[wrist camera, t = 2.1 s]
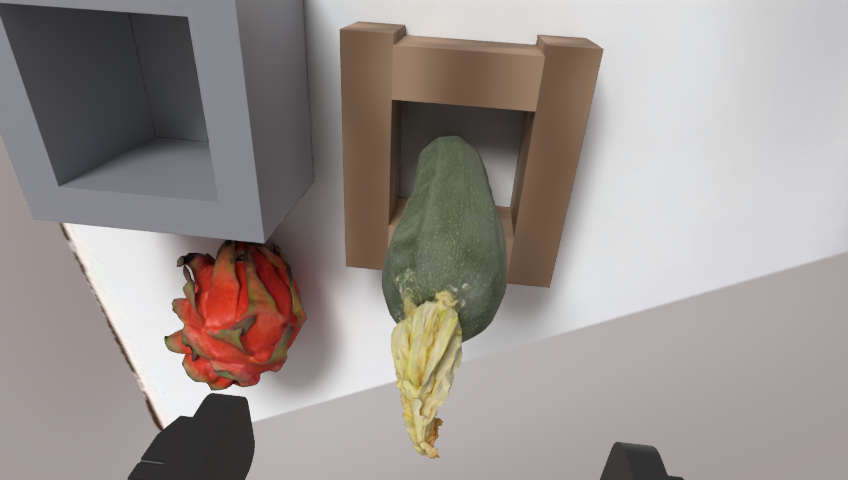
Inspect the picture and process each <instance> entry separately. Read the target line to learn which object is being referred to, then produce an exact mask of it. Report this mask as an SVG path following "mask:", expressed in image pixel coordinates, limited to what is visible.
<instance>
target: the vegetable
mask: <svg viewBox="0 0 848 480" xmlns="http://www.w3.org/2000/svg"><path fill="white" fill-rule="evenodd" d="M415 184H416V185H415V188H414V190H413V192H412V194H411V196H410V198H409V199H408V201H407V203H406V206H405V209H404V212H403V215H402V217H401V219H400V221H399V223H398V225H397V226H396V228H395V230H394V233H393V236H392V239H391V242H390V245H389V248H388V251H387V254H386V257H385V261H384V266H383V275H382V288H383V293H384V296H385V300H386V303H387V306H388V309H389V312H390V315H391V316H392V318H393V319H394V321H395V322H396V323H397V324H398V325H397V326H396V327H395V328H394V330H393V332H392V335H391V338H392V340H391V348H392V355H393V360H394V366H395V369H396V376H397V387H398V388H399V389H400V390H401V405H402V407H403V408H404V409H405V413H403V418H404V422H405V423H404V426H405V427H406V429H407V431H408V432H409V436H410V440H411V441H412V442H413V444H414V448H415V449H416V450H417V452H418V453H419V454H421V455H428V457H429V458H435V457H439V456H438V455H437V452H438V449H437V448H434V446H433V443H434V441H435V440H436V439H437V438H438V426H441V425H442V423H443V421H442V420H441V419H440V418H435V416H436V415H437V411H438V407H440V406H442V405H443V404H444V403H445V401H446V399H447V398H448V396H449V389H450V387H451V385H452V382H453V378H454V375H455V373H456V371H457V370H458V367H459V365H460V363H461V358H462V348H461V343H462V342H464V341H466V340H469V339H471V338H473V337H474V336H476V335H478V334H480V333H481V332H482V331H483V330H485V329H486V328H487V326H488V325H489V324H490V323H491V322H492V320H493V318H494V316H495V314H496V312H497V310H498V308H499V306H500V303H501V301H502V299H503V296H504V293H505V289H506V284H507V273H508V264H507V252H506V241H505V234H504V230H503V227H502V224H501V221H500V218H499V215H498V212H497V209H496V206H495V203H494V200H493V196H492V191H491V188H490V185H489V183H488V176H487V173H486V170H485V167H484V165H483V162H482V159H481V157H480V155H479V153H478V151H477V150H476V149H475V147H473V146H472V145H470V144H469V143H468V142H467V141H465V140H464V139H463V138H462V137H460V136H457V135H455V136H443V137H438V138H436V139H434V140H433V141H432V142H430V143H429V144H428V145H427V146H426V147H424V148H423V149H422V151H421V152H420V154H419V157H418V162H417V167H416V173H415Z"/></svg>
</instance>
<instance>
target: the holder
mask: <svg viewBox="0 0 848 480" xmlns="http://www.w3.org/2000/svg"><path fill="white" fill-rule="evenodd" d="M128 12H131V13H145V14H158V15H171V16H185V17H188V21H189V27H190V33H191V39H192V45H193V51H194V57H195V63H196V69H197V75H198V81H199V87H200V93H201V99H202V105H203V111H204V116H205V122H206V128H207V134H208V140H209V142H203V141H192V140H181V139H170V138H159V137H156V135H155V131H154V126H153V122H152V117H151V113H150V108H149V104H148V99H147V95H146V91H145V86H144V82H143V77H142V73H141V68H140V64H139V59H138V55H137V50H136V46H135V41H134V37H133V32H132V28H131V23H130V19H129V14H128ZM0 133H1V136H2V138H3V141H4V143H5V146H6V149H7V151H8V154H9V156H10V159H11V162H12V164H13V167H14V169H15V172H16V175H17V177H18V180H19V182H20V185H21V188H22V190H23V193H24V195H25V198H26V201H27V203H28V206H29V208H30V211H31V214H32V216H33V219H34V220H43V221H53V222H63V223H73V224H82V225H92V226H102V227H111V228H121V229H131V230H140V231H150V232H160V233H170V234H179V235H189V236H199V237H208V238H218V239H228V240H237V241H247V242H257V243H265V242H266V241H267V240H268V238H269V237H270V236H271V235H272V233H273V232H274V231H275V230H276V228H277V227H278V226H279V225H280V223H281V222H282V221H283V219H284V218H285V217H286V216H287V214H288V213H289V212H290V211H291V209H292V208H293V207H294V206H295V204H296V203H297V202H298V201H299V199H300V198H301V197H302V196H303V194H304V193H305V192H306V191H307V189H308V188H309V187H310V186H311V184H312V183H313V182H314V179H313V162H312V145H311V128H310V111H309V95H308V78H307V61H306V44H305V28H304V11H303V0H0Z"/></svg>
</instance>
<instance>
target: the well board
mask: <svg viewBox="0 0 848 480" xmlns="http://www.w3.org/2000/svg"><path fill="white" fill-rule="evenodd" d="M602 54H603V48H601V47H599V46H598V45H596V44H595V43H593V42H591V41H590V40H588V39H587V38H574V37H561V36H547V35H538V37H537V43H536V45H529V44H515V43H502V42H489V41H475V40H462V39H449V38H435V37H422V36H409V35H405V25H397V24H384V23H370V22H357V23H354V24H352V25H349V26H347V27H344V28H342V29H340V57H341V94H342V132H343V170H344V208H345V245H346V266H348V267H357V268H367V269H377V270H383V266H384V261H385V257H386V254H387V251H388V248H389V245H390V242H391V239H392V236H393V233H394V230H395V228H396V226H397V225H398V223H399V221H400V219H401V217H402V215H403V212H404V209H405V206H406V203H407V201H408V199H409V198H405V197H399V186H400V157H401V129H402V100H403V101H415V102H427V103H439V104H451V105H463V106H475V107H487V108H499V109H511V110H523V111H525V118H524V124H523V130H522V136H521V142H520V149H519V155H518V161H517V167H516V173H515V180H514V186H513V192H512V198H511V204H510V207H500V206H496V209H497V212H498V215H499V218H500V221H501V224H502V227H503V230H504V234H505V241H506V252H507V264H508V273H507V283H510V284H519V285H529V286H539V287H548V288H550V283H551V279H552V274H553V270H554V265H555V261H556V257H557V252H558V248H559V243H560V239H561V235H562V230H563V226H564V221H565V217H566V213H567V208H568V204H569V199H570V195H571V190H572V186H573V182H574V177H575V173H576V168H577V164H578V160H579V155H580V151H581V146H582V142H583V138H584V133H585V129H586V124H587V120H588V115H589V111H590V107H591V102H592V98H593V93H594V89H595V85H596V80H597V76H598V71H599V67H600V63H601V58H602Z"/></svg>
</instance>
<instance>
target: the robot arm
mask: <svg viewBox="0 0 848 480" xmlns="http://www.w3.org/2000/svg"><path fill="white" fill-rule="evenodd" d="M254 448H255V441H254V435H253V429H252V423H251V417H250V411H249V405H248V401H247V399H246V397H241V396H233V395H224V394H216V393H211V394H209V395H208V396H207V397H206V398H205V399H204V400H203V402H202V403H201V405H200V407H199V408H198V410H197V411H196V413H195V414H194V416H193V417H187V416H179V417H178V418H177V419H176V420H175V421H173V422H172V423H171V424H170V425H169V426H167V427H166V428H165V429H164V430H162V431H161V432H160V433H159V434H158V435H157V436H156V438H155V439H154V440H153V442H152V443H151V445H150V446H149V448H148V449H147V450H146V452H145V453H144V455H143V456H142V458H141V462H140V463H138V464H137V465H136V467H135V468H134V469H133V471H132V472H131V474H130V475H129V477H128V480H245V478H246V476H247V474H248V472H249V469H250V466H251V463H252V459H253V455H254ZM600 480H684V479H683V478H682V477H673V476H668V475H667V473H666V470H665V467H664V464H663V462H662V459H661V457H660V454H659V452H658V451H657V449H656V448H655V447H653V446H648V445H640V444H631V443H623V442H616V443H615V444H614V445H613V447H612V450H611V452H610V455H609V457H608V460H607V462H606V465H605V468H604V470H603V473H602V476H601V478H600Z"/></svg>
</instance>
